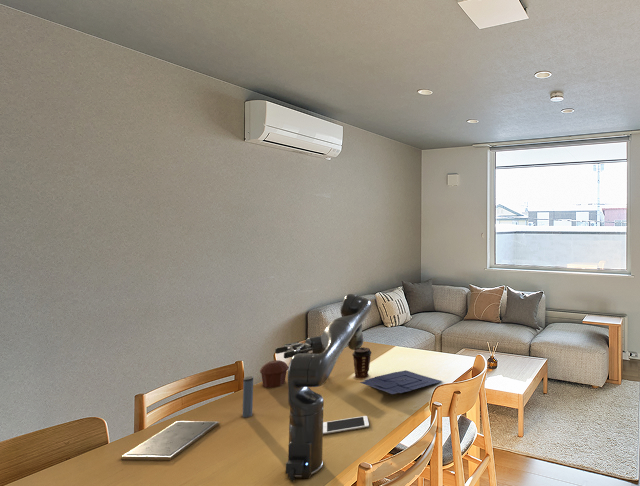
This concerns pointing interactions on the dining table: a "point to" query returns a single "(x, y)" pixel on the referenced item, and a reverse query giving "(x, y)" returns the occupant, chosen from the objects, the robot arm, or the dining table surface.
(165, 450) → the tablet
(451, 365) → the dining table surface
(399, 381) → the navy compartment tray
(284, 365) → the muffin
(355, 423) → the cell phone
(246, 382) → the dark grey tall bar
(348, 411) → the dining table surface
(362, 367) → the coffee cup
